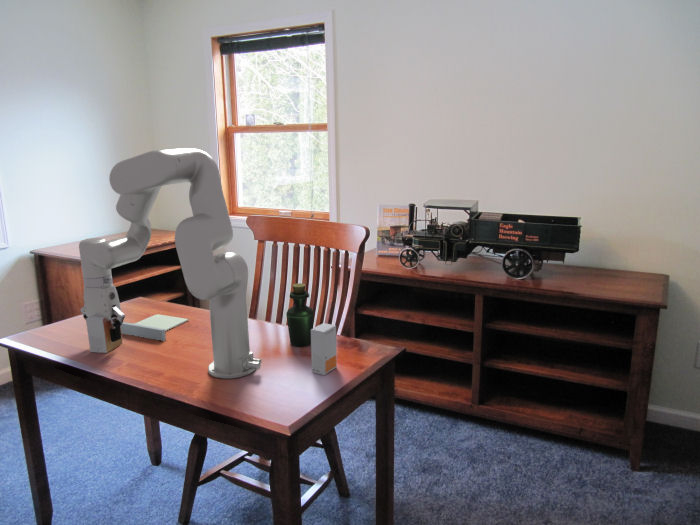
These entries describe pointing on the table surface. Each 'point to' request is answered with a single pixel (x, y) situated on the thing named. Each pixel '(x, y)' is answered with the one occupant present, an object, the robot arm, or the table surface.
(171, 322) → the mat
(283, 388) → the table surface
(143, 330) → the low wall
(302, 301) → the potion bottle
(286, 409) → the table surface
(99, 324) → the small box
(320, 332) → the skincare box
